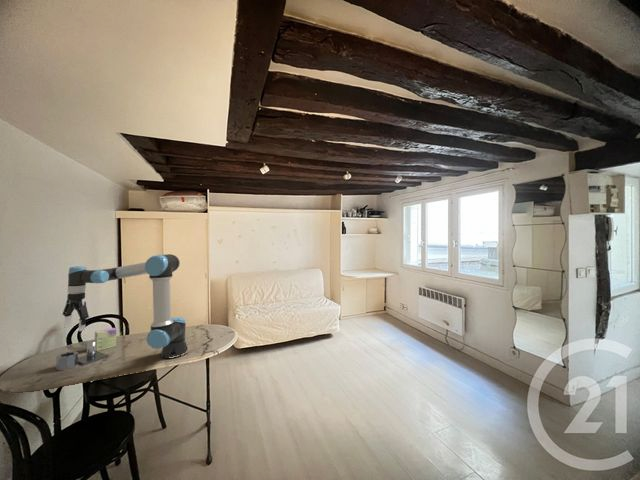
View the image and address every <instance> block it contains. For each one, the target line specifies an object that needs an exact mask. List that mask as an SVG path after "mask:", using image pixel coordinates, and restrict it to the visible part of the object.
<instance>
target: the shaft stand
mask: <svg viewBox="0 0 640 480" xmlns="http://www.w3.org/2000/svg"><path fill="white" fill-rule="evenodd" d="M86 343H87V344H86V354H85V355H82V356H78V364H79V365H82V366H86V365H90V364H92V363H94V362H98V361H101V360H103V359H107V358H108V357H109V354H106V353H103V352H100V351H96V341H95V340H90V341H88V342H86Z"/></svg>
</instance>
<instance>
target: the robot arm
mask: <svg viewBox="0 0 640 480" xmlns="http://www.w3.org/2000/svg"><path fill="white" fill-rule="evenodd" d="M180 263H181V262H180V259H179V258H178V256H176V255H174V254H171V253H170V254H168V253H167V254H156V255H152V256H150V257H149V258H148V259H147V260H146V261H145V262H139V263H134V264H128V265H123V266H117V267H112V268H105V269H93V270H90V269H87V266H83V265H82V266H81V265H80V266H71V267H69V269H68V275H67V276H68V278H67V279H68V283H67V284H68V285H67V298H66V299H67V300H66V303H65V306H64V309H63V311H62V316H64V328H65V329H66V328H71V327H72V316H73V314H72V313H73V312H74V311H76V312H77V314H78V317H79V320H78V321H79V322H78V332H81V331H82V332H83V331H86V321H87V319H89V318H90V316H89V311H88V307H87V301H83V300H84V299H86V288H87V286H86V285H87V284H105V283H106V282H109V281H115V280H119V279H125V278H131V277H136V276H141V275H142V276H143V275H149V280H150V281H152V304H153V305H152V307H153V308H152V309H153V312H152V313H153V322H152V323H151V324H150V331H149V333H148V334H147V335H146V342H147V345H148V346H150V347H151V348H152V349H155V350H159V349H161V351H160V358H161V357H162V358H161V359H164V358H169V357H173V356H177V355H181V354H183V353H185V352H186V351H187V350H188V345H187V342H186V324H187V323H186V318H185V317H181V316H180V317H179V316H178V317H177V316H176V317H171V283H170V282H171V281H170V280H171V279H172V278H173V273H174V272H175V271H177V270H178V268H180ZM188 351H189V350H188Z"/></svg>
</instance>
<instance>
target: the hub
mask: <svg viewBox="0 0 640 480" xmlns="http://www.w3.org/2000/svg"><path fill="white" fill-rule="evenodd" d="M78 357H79V352H78V351H68V352H64V353H61V354H58V355H57V356H56V360H55V361H56V363H55V364H56V365H55V369H56V370H57V371H59V372H60V371H68V370H70V369H73V368H75V367H76V366H77V365H78V364H79V363H78Z"/></svg>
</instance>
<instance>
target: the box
mask: <svg viewBox="0 0 640 480" xmlns="http://www.w3.org/2000/svg"><path fill="white" fill-rule="evenodd" d="M117 330H118V329H117V328H115V327H111V328H106V329H101V330H97V331H96V330H95V331H94V341H96V352H100V351H102V350H106V349H110V348H114V347H117V332H118V331H117Z"/></svg>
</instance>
